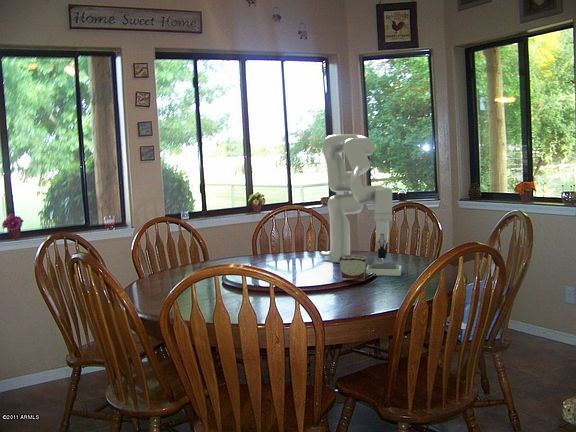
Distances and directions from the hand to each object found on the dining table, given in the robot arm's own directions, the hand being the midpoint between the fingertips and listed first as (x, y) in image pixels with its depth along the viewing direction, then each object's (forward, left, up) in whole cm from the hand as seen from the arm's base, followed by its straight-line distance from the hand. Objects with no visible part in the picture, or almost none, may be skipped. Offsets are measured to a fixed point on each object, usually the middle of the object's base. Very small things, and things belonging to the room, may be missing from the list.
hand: (382, 255), depth 279 cm
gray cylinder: (0, -1, -7) cm, 7 cm away
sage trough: (+1, -1, -8) cm, 8 cm away
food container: (-11, -14, -8) cm, 19 cm away
